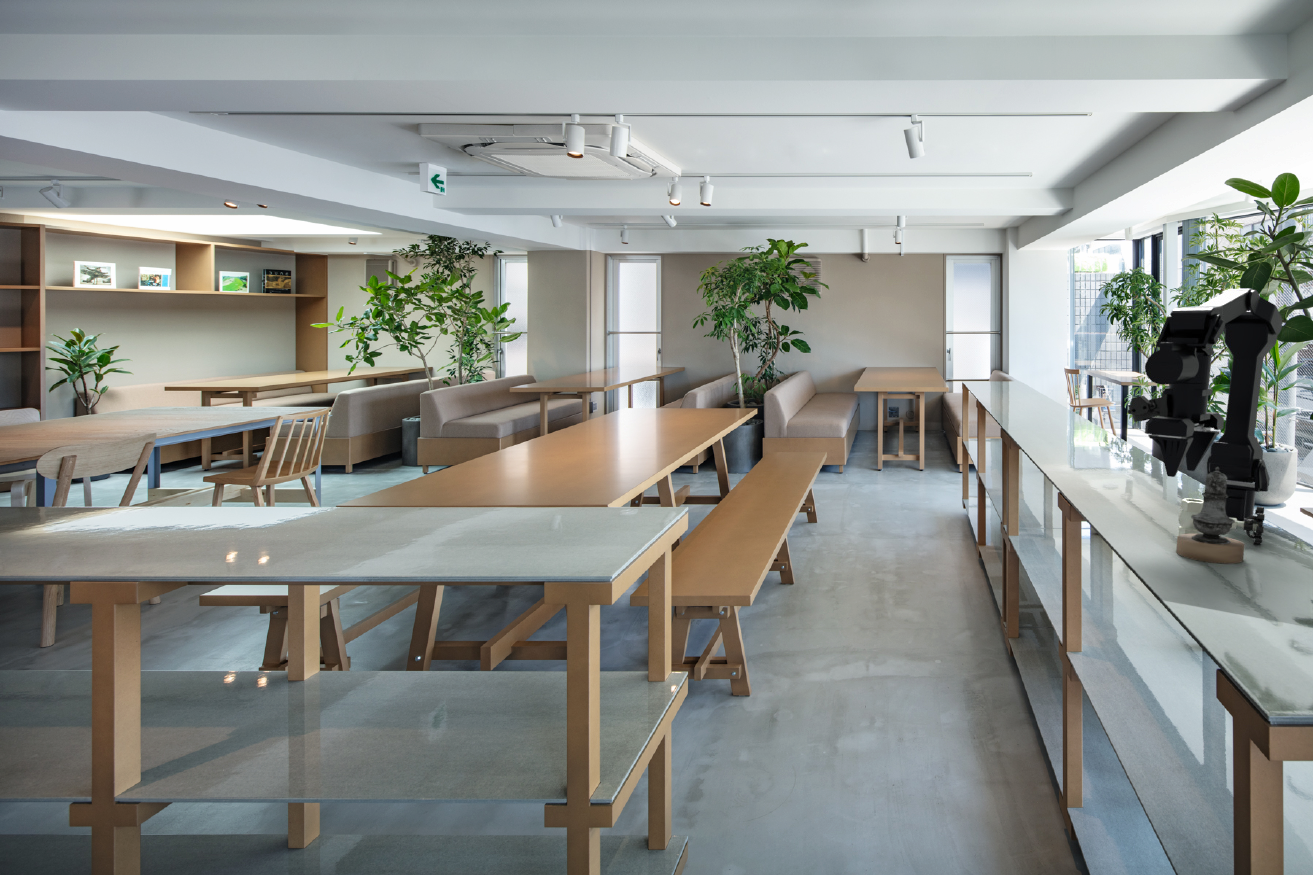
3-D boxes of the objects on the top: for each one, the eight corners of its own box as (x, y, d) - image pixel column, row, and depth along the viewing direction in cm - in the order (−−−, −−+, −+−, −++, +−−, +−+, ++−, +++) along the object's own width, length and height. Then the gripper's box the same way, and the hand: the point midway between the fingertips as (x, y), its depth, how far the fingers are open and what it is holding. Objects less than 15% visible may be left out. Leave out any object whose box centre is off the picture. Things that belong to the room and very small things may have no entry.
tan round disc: (1181, 545, 141) (1182, 530, 140) (1246, 554, 135) (1247, 539, 135) (1171, 556, 134) (1172, 541, 134) (1239, 566, 128) (1241, 551, 128)
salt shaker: (1181, 538, 135) (1188, 465, 134) (1200, 534, 138) (1206, 462, 137) (1221, 546, 130) (1229, 470, 129) (1239, 541, 133) (1247, 467, 132)
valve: (1176, 539, 145) (1261, 549, 139) (1180, 502, 144) (1265, 510, 138) (1177, 532, 151) (1258, 541, 144) (1180, 496, 150) (1262, 503, 143)
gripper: (1158, 378, 154) (1151, 462, 156) (1115, 382, 142) (1108, 473, 144) (1228, 381, 145) (1220, 470, 147) (1189, 386, 133) (1181, 482, 135)
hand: (1181, 473), depth 144 cm, fingers open, 9 cm apart
